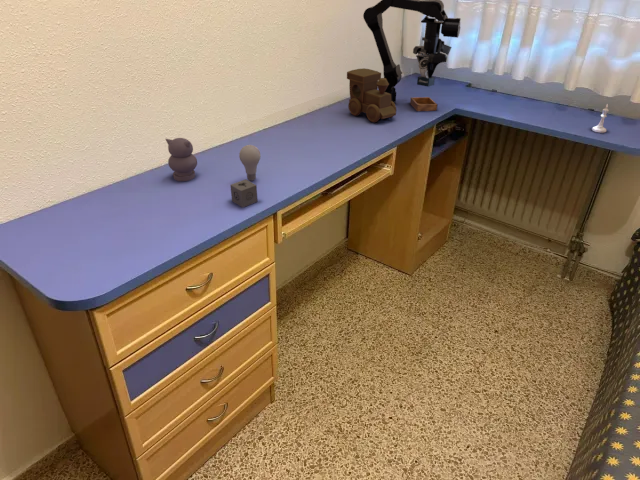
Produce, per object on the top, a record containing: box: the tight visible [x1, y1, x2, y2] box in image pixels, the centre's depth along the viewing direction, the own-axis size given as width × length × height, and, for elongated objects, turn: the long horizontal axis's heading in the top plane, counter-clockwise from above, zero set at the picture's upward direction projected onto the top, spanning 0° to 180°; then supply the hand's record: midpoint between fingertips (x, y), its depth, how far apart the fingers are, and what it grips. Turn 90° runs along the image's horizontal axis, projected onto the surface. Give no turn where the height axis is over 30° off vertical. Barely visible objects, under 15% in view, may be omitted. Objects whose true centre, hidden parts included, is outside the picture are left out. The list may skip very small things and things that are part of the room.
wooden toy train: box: [346, 68, 397, 123], centre depth 191 cm, size 20×11×17 cm, turn 40°
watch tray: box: [409, 96, 438, 112], centre depth 206 cm, size 8×11×3 cm
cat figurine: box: [165, 137, 198, 182], centre depth 143 cm, size 8×8×12 cm
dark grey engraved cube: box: [229, 179, 258, 208], centre depth 131 cm, size 5×5×5 cm
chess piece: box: [591, 103, 609, 134], centre depth 181 cm, size 5×5×10 cm
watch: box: [416, 57, 436, 88], centre depth 199 cm, size 6×8×11 cm
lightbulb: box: [238, 144, 261, 182], centre depth 141 cm, size 6×6×11 cm
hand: (426, 75), depth 199 cm, fingers closed on watch, 5 cm apart
